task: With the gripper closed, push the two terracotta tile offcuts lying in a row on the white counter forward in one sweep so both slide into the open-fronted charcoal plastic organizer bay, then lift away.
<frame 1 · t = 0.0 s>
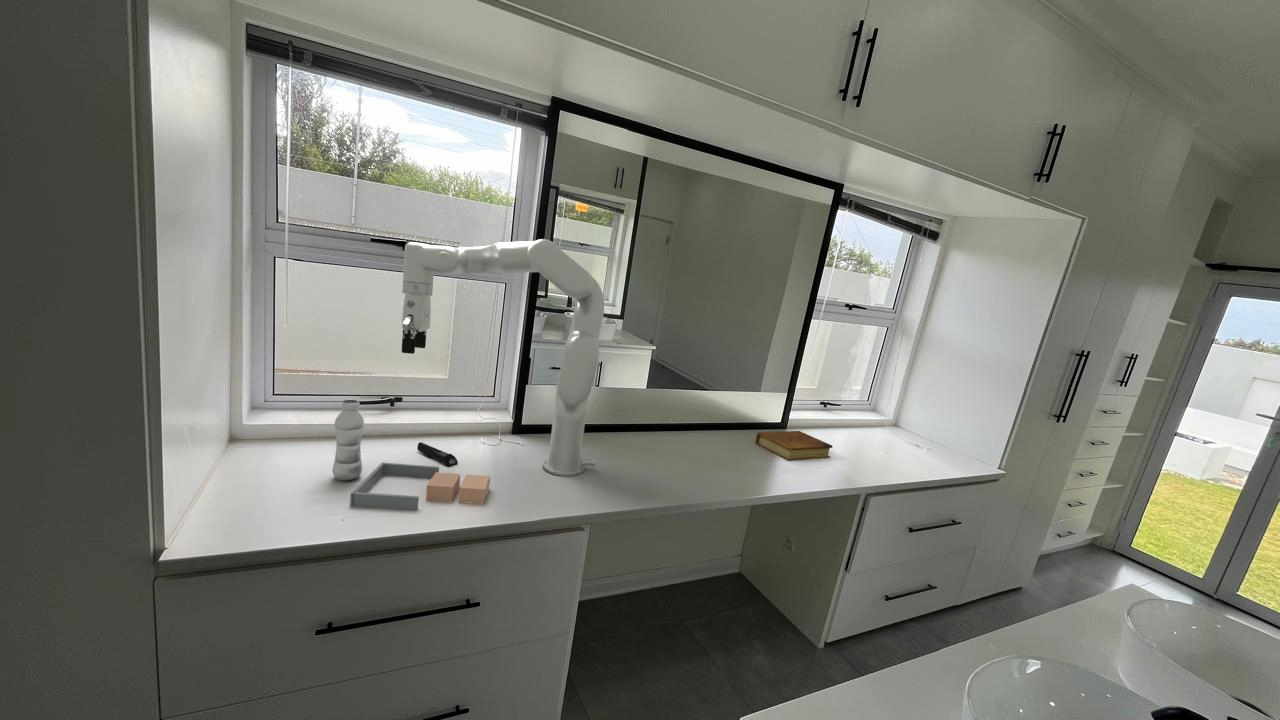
hand: (413, 350, 136), 31 cm above the worktop, tool pointing down, fingers open, 9 cm apart
organizer bay: (398, 490, 121), on the worktop
diary: (791, 452, 197), on the worktop
plastic bottle: (347, 478, 123), on the worktop
front tile: (443, 494, 122), on the worktop
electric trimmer: (435, 459, 143), on the worktop
rear tile: (474, 496, 123), on the worktop
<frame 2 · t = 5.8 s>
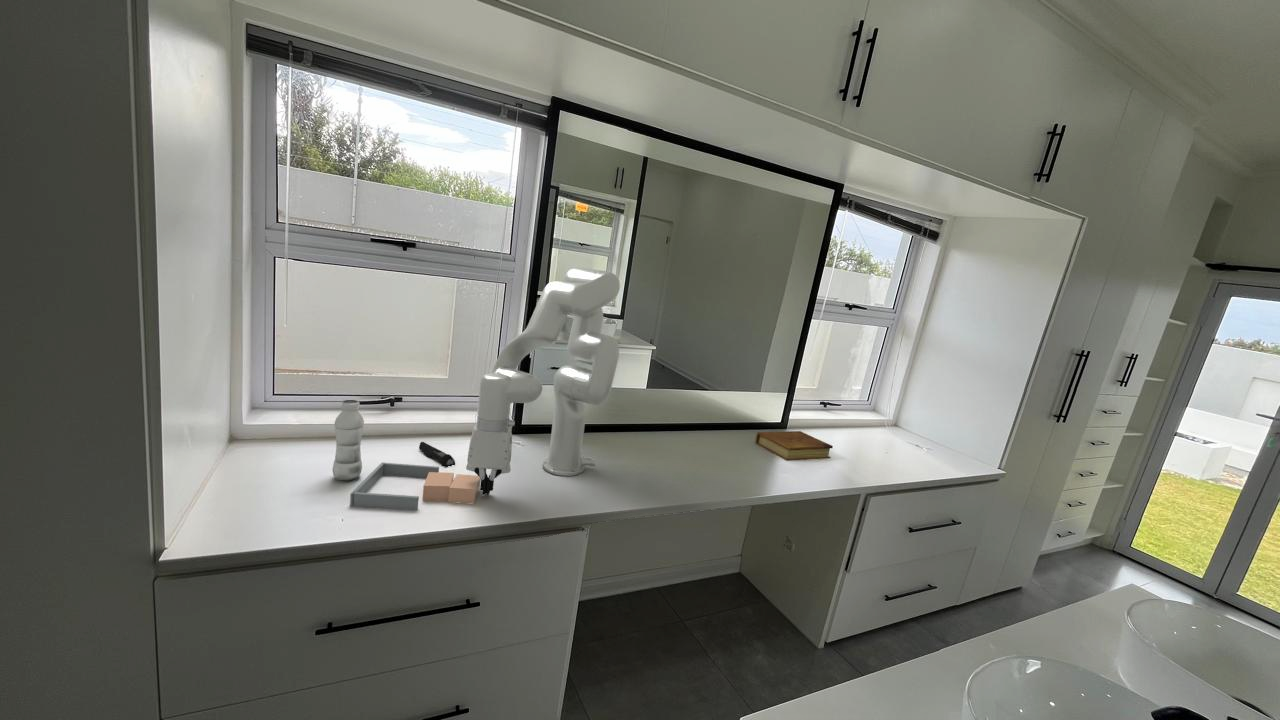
hand: (486, 492, 124), 1 cm above the worktop, tool pointing down, fingers closed
front tile: (438, 494, 122), on the worktop, touching rear tile
rear tile: (464, 496, 123), on the worktop, touching front tile
everything else where it was.
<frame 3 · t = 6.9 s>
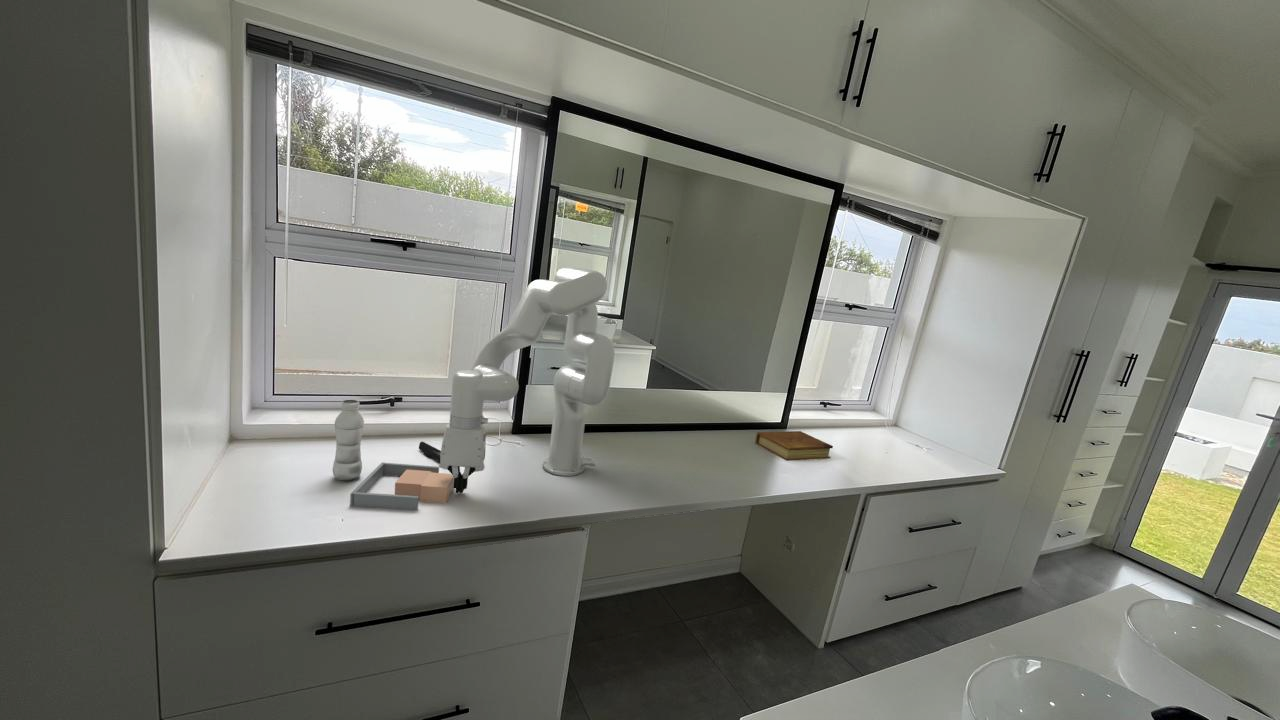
hand: (460, 490, 123), 1 cm above the worktop, tool pointing down, fingers closed
front tile: (412, 491, 121), on the worktop
rear tile: (437, 494, 121), on the worktop
everything else where it was.
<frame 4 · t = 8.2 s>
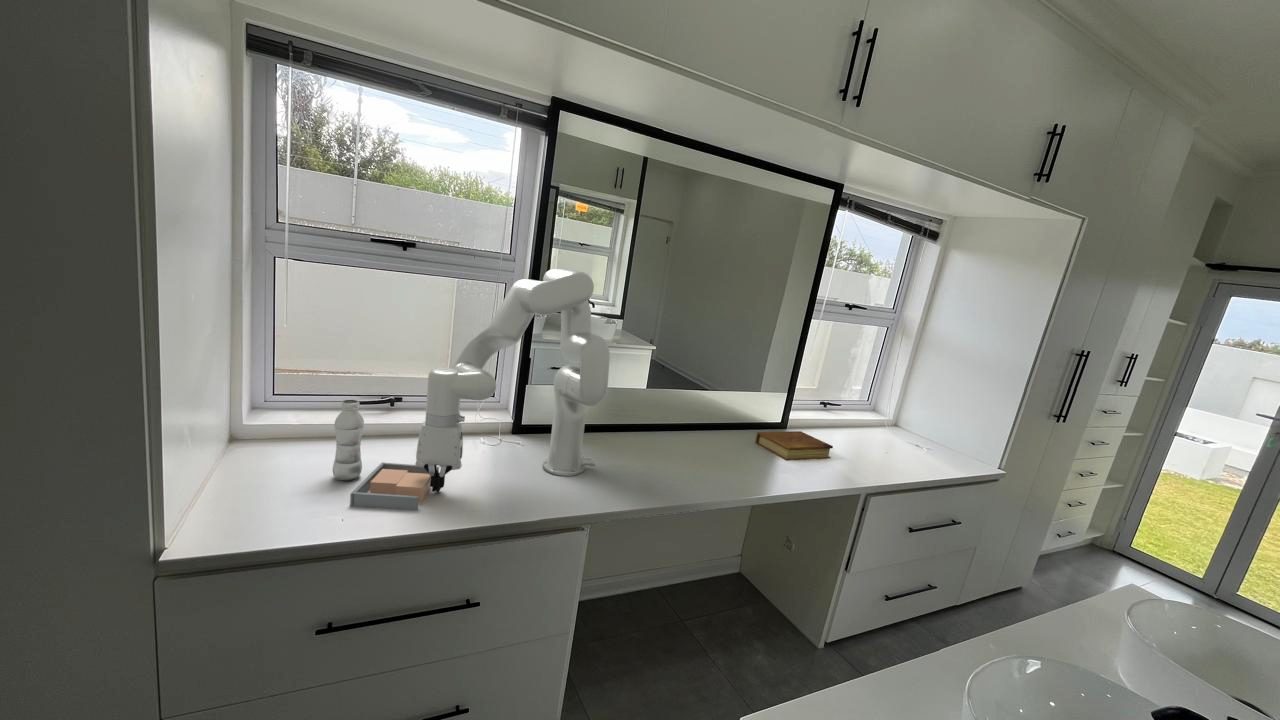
hand: (436, 489, 122), 1 cm above the worktop, tool pointing down, fingers closed
front tile: (389, 491, 120), on the worktop
rear tile: (413, 495, 120), on the worktop, touching gripper
everything else where it was.
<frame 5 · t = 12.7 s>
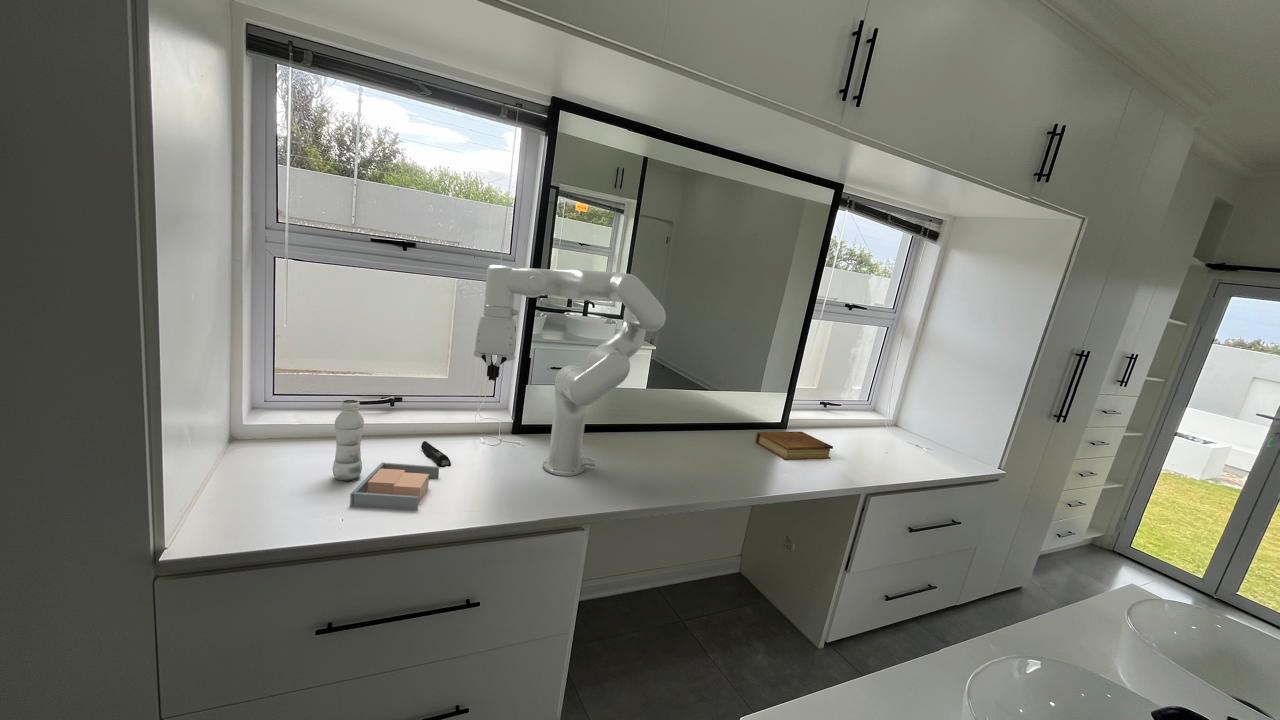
hand: (492, 379, 133), 27 cm above the worktop, tool pointing down, fingers closed
rear tile: (410, 495, 120), on the worktop
at the end: rear tile inside the target area on the organizer bay (4.3 cm from its centre), point 0.0 cm above the organizer bay's base; front tile inside the target area on the organizer bay (2.1 cm from its centre), point 0.0 cm above the organizer bay's base; rear tile moved 14.8 cm from its start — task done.
